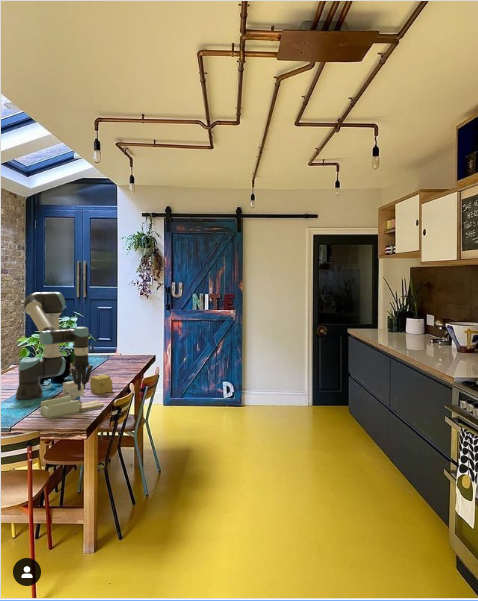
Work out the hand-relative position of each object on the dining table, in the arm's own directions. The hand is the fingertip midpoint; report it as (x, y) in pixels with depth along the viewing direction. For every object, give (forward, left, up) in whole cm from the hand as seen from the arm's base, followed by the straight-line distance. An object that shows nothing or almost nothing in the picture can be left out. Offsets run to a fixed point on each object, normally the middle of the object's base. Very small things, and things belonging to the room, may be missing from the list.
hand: (81, 395), depth 236 cm
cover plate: (0, +4, -7) cm, 8 cm away
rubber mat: (0, +3, -7) cm, 8 cm away
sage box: (0, -12, -7) cm, 14 cm away
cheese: (-26, +25, -8) cm, 37 cm away
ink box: (-18, +2, -8) cm, 20 cm away
